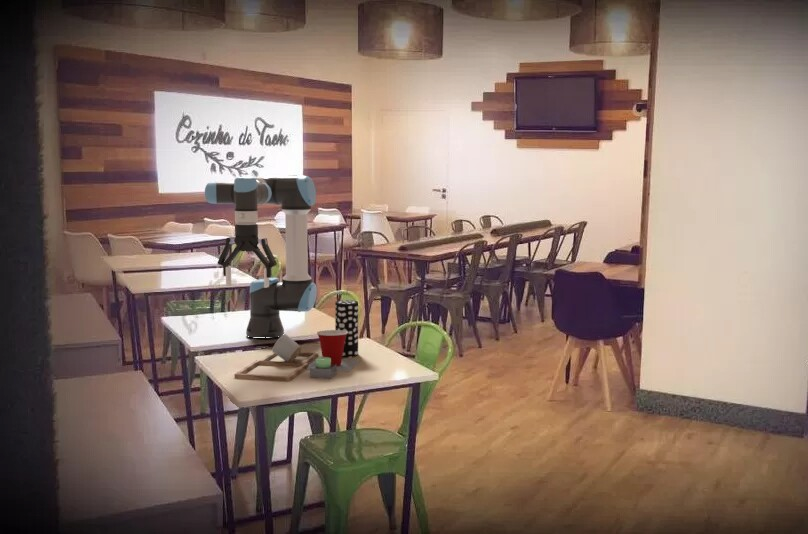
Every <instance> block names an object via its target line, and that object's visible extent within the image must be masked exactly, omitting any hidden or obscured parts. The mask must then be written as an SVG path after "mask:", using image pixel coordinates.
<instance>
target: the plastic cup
mask: <svg viewBox="0 0 808 534" xmlns="http://www.w3.org/2000/svg"><path fill="white" fill-rule="evenodd" d="M347 333H348V332H347V331H342V330H335V329H326V330H320V331H317V332H316V335H317V336H318V339H319V344H320V350H321V357H329V358H331V364H336V365H337V366H340V365H341V361H342V359H343V358H342V356H343V350H344V344H345V339H346V335H347Z"/></svg>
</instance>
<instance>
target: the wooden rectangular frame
mask: <svg viewBox="0 0 808 534" xmlns="http://www.w3.org/2000/svg"><path fill="white" fill-rule="evenodd" d="M276 356H277V355H276V354H275V353H274V352H271V353H269V354H268V355H265V357H262V359H260V360H259V359H258V360H257V359H256V360H255V361H253V362H251V363H249V364H248V365H247V366H245V367H244V368H241V369H240V370H238V371H237V372H235V373H234V379H244V380H245V379H247V380H258V381H259V380H263V381H276V382H291V381H293V379H295V378H296V377H297V376H299V375H300V374H301V373H302V372H303V371H305V370H304V369H305V368H307V367H308V365H309V364H311V363H312V362H313V361H314V360H316V358H318V357H319V352H311V351H310V352H306V351H301V352H300V353H299V355H298V356H297V357H307V358H306V359H304V360H303V361H302V362H294V361H293V362H286V361H279V360H277V361H275V360H272V359H273V358H275V357H276ZM257 366H275V367H291V368H292V367H293V368H296V369H295V370H293V372H291V373H290V374H289V375H269V374H257V373H256V374H254V373H248V372H250V371H252V370H253V369H254V368H256V367H257Z"/></svg>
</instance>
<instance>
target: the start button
mask: <svg viewBox="0 0 808 534" xmlns="http://www.w3.org/2000/svg"><path fill="white" fill-rule="evenodd" d="M315 360H316V367H317V368H328V367H331V358H329V357H323V356H320V357H319V356H318V357H316V358H315Z"/></svg>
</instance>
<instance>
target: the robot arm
mask: <svg viewBox="0 0 808 534" xmlns="http://www.w3.org/2000/svg"><path fill="white" fill-rule="evenodd" d="M316 190H317V189H316V186H315V184H314V180H313V179H312V178H311V177H310V176H308V175H301V174H298V175H297V174H296V175H295V174H293V175H289V174H288V175H283V174H281V175H280V174H279V175H278V174H275V175H274V174H273V175H265V176H261V177H260V176H259V177H251V176H248V177H246V176H244V177H242V176H241V177H240V176H238V177H235V178H234V181H222V182H221V181H212V182H211V181H210V182H208V183H206V185H205V188H204V197H205V200H206V202H207V203H209V204H213V205H234V222H235V225H234V235H235V237H231V236H230V237H227V238H226V239H225V246H224V248H223V249H222V252H221V254H220V256H219V258H218V261H217V265H220V266H222V269H223V270H222V273H223V277H225V286H226V287H230V286H232V266H231V263H232V262H233V260H234V259H235V258H236V257H237V255H238V254H239V253H240V252H249V253H250V252H251V253H253V254H255V256H256V257H257V258H258V259H259V261H260V262H261V263H262V264H263V265H264V266H265V267H264V268H263V278H260V279H255V280H253V281H251V282H250V285H249V308H250V310H249V312H250V313H249V314H250V316H249V320H248V324H247V327H246V330H245V331H246V333H245V334H246V335H247V336H249V337H265V338H266V337H278V336H282V335H283V334H285V327H284V326H283V322H282V320H281V317H280V311H283V312H297V313H301V312H307V313H308V312H310V311H311V310H312V309H313V308H314V305H315V303H316V299H317V295H318V294H317V293H318V292H317V291H318V289H317V285H316V283H314V282H313V281H312V276H311V275H309V273H308V272H309V271H308V269H309V267H308V266H309V262H308V260H309V259H308V213H310V211H311V210H312V206H315V204H316V202H317V191H316ZM264 204H267V205H275V206H277V205H278V206H279V205H280V206H281V207H280V208H281V211H282V212H283V213H284V215H285V217H284V218H285V220H284V221H285V275H284V276H283V277H282V279H281V281H280V278H279V277H272V275H273V274H272V268H273V267H275V266H277V265H278V263H277V261H276V258H275V257H274V255H273V252H272V251H271V248H270V246H269V243H268V238H266V237H265V238H259V225H258V224H257V223H258V222H259V221H258V220H259V216H258V205H261V206H262V205H264ZM233 244H235V245H236V246H235V247H234V249H233V250H232V252H231V253H230V254H229V252H230V250H231V248H232V245H233ZM259 244H260V246H261V247H262V249H263V251H264V253H265V254H264V253H263V252H262V251H261V249H260V248H259V246H258V245H259ZM228 255H229V256H228ZM265 255H266V256H265ZM246 335H245V336H246ZM247 336H246V337H247ZM249 337H248V338H249ZM278 338H279V337H278Z"/></svg>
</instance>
